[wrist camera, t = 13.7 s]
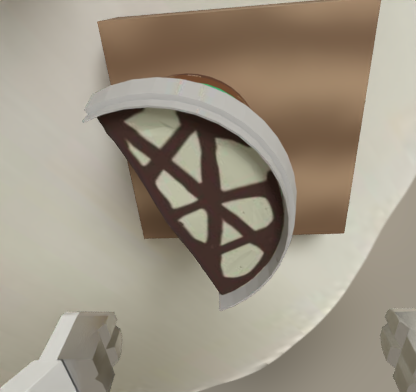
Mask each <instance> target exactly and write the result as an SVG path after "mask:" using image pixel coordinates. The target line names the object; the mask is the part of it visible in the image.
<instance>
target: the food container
mask: <svg viewBox="0 0 416 392" xmlns="http://www.w3.org/2000/svg"><path fill="white" fill-rule="evenodd" d="M84 110H85V111H86V113H87V114H88V115H87V116H86V117H85V118H84V119H83V123H84V122H86V121H89V120H91V119H93V118H96V117H97V118H98V120H99V122H100V123H101V124H102V126H103V127H104V129H105V131H106V133H107V134H108V135H109V136H110V137H111V139H112V140H113V141H114V142H115V143H116V145H117V146H118V147H119V149H120V150H121V151H122V153H123V154H124V156H125V157H126V159H127V160H128V162H129V163H130V165H131V166H132V168H133V169H134V171H135V172H136V174H137V175H138V177H139V178H140V180H141V182H142V183H143V185H144V186H145V188H146V189H147V191H148V193H149V195H150V196H151V198H152V200H153V201H154V203H155V205H156V206H157V208H158V210H159V211H160V213H161V214H162V216H163V218H164V219H165V221H166V222H167V224H168V225H169V226H170V228H171V229H172V230H173V231H174V233H175V234H176V235H177V236H178V238H179V239H180V240H181V241H182V242H183V243H184V244H185V246H186V247H187V248H188V249H189V251H190V252H191V253H192V254H193V256H194V257H195V258H196V260H197V261H198V262H199V264H200V265H201V267H202V268H203V270H204V271H205V272H206V274H207V275H208V277H209V278H210V279H211V281H212V282H213V284H214V285H215V287H216V288H217V290H218V291H219V310H220V311H223V310H225V309H228V308H230V307H233V306H235V305H237V304H239V303H241V302H242V301H244V300H246V299H248V298H249V297H251V296H252V295H253V294H255V293H256V292H257V291H259V290H260V289H261V288H262V287H263V286H264V285H265V284H266V283H267V282H268V281H269V280H270V279H271V277H272V276H273V275H274V273H275V272H276V270H277V269H278V267H279V266H280V264H281V262H282V259H283V258H284V256H285V253H286V251H287V249H288V247H289V245H290V242H291V238H292V234H293V230H294V225H295V214H296V196H297V190H296V183H295V176H294V172H293V169H292V166H291V163H290V160H289V157H288V155H287V153H286V151H285V149H284V147H283V146H282V144H281V142H280V140H279V139H278V137H277V136H276V135H275V133H274V132H273V131H272V130H271V129H270V127H269V126H268V125H267V124H266V122H265V121H264V120H263V119H262V118H260V117H259V116H258V115H257V114H256V113H255V112H253V111H252V110H251V109H250V107H249V105H248V103H247V102H246V101H245V100H244V99H243V97H242V96H241V95H240V94H239V93H238V92H236V91H235V90H234V89H233V88H232V87H230V86H229V85H227V84H225V83H224V82H222V81H220V80H217V79H215V78H212V77H210V76H205V75H200V74H189V73H184V74H175V75H171V76H167V77H163V78H161V77H153V78H143V79H133V80H129V81H125V82H122V83H118V84H114V85H110V86H108V87H106V88H104V89H102V90H100V91H98V92H96V93H93V94H92V96H91V98H90V100H89V101H88V103H87V105H86V107H85V109H84Z"/></svg>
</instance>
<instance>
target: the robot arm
mask: <svg viewBox="0 0 416 392" xmlns="http://www.w3.org/2000/svg"><path fill="white" fill-rule="evenodd" d="M385 318H386V321H387V324H386V325H385V326H383V327H382V330H381V334H380V339H381V346H382V350H383V354H384V356H385V359H386V361H387V362H388V363H390V364H391V365H392V366H393V367H394V368H395V371H394V374H393V378H394V380H395V382H396V385H397V387H398V389H399V392H416V308H398V309H397V308H396V309H395V308H394V309H389V310H388V311H387V312H386V315H385ZM116 321H117V318H116V315H115V313H114V312H65V313H64V314H63V315H62V316H61V317H60V319H59V321H58V323H57V325H56V327H55V329H54V331H53V333H52V335H51V337H50V339H49V341H48V342H47V344H46V346H45V348H44V350H43V352H42V354H41V356H40V358H39V360H33V361H32V362H31V363H30V364H28V365H27V366H26V367H25V368H24V369H22V370H21V371H20V372H19V373H17V374H16V375H15V376H14V377H13V378H11V379H10V380H9V381H8V382H7V383H5V384H4V385H3V386H2V387H0V392H110V388H111V385H112V382H113V378H114V375H115V374H114V371H113V368H112V367H113V366H114V365H115V364H116V363H117V362H118V361H119V358H120V355H121V351H122V333H121V330H120V328H118V327H117V326H116V325H115V324H116Z"/></svg>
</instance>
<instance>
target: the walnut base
mask: <svg viewBox="0 0 416 392" xmlns="http://www.w3.org/2000/svg"><path fill="white" fill-rule="evenodd" d="M380 3H381V0H315V1H304V2H292V3H280V4H269V5H257V6H246V7H234V8H222V9H211V10H199V11H187V12H176V13H164V14H152V15H141V16H129V17H117V18H112V19H108V20H103V21H98V22H97V23H98V27H99V32H100V37H101V41H102V46H103V50H104V55H105V60H106V64H107V69H108V74H109V78H110V83H111V85H114V84H118V83H122V82H125V81H129V80H133V79H143V78H153V77H161V78H163V77H167V76H171V75H175V74H184V73H189V74H200V75H205V76H210V77H212V78H215V79H217V80H220V81H222V82H224V83H225V84H227V85H229V86H230V87H232V88H233V89H234V90H235V91H236V92H238V93H239V94H240V95H241V96H242V97H243V99H244V100H245V101H246V102H247V103H248V105H249V107H250V109H251V110H252V111H253V112H255V113H256V114H257V115H258V116H259V117H260V118H262V119H263V120H264V121H265V122H266V124H267V125H268V126H269V127H270V129H271V130H272V131H273V132H274V133H275V135H276V136H277V137H278V139H279V140H280V142H281V144H282V146H283V147H284V149H285V151H286V153H287V155H288V157H289V160H290V163H291V166H292V169H293V172H294V176H295V183H296V190H297V196H296V214H295V225H294V230H293V234H292V235H300V234H338V233H344V231H345V225H346V218H347V212H348V206H349V199H350V193H351V187H352V180H353V174H354V168H355V161H356V155H357V149H358V142H359V136H360V130H361V123H362V117H363V111H364V104H365V98H366V92H367V85H368V79H369V73H370V66H371V60H372V54H373V47H374V41H375V35H376V28H377V22H378V16H379V10H380ZM127 161H128V160H127ZM128 166H129V170H130V175H131V180H132V184H133V189H134V193H135V198H136V203H137V207H138V212H139V217H140V221H141V226H142V230H143V235H144V239H148V238H178V236H177V235H176V234H175V233H174V231H173V230H172V229H171V228H170V226H169V225H168V224H167V222H166V221H165V219H164V218H163V216H162V214H161V213H160V211H159V210H158V208H157V206H156V205H155V203H154V201H153V200H152V198H151V196H150V195H149V193H148V191H147V189H146V188H145V186H144V185H143V183H142V182H141V180H140V178H139V177H138V175H137V174H136V172H135V171H134V169H133V168H132V166H131V165H130V163H129V162H128Z"/></svg>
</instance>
